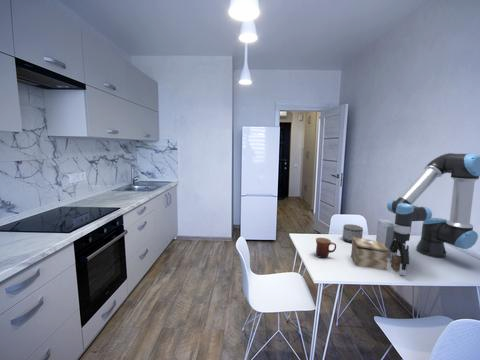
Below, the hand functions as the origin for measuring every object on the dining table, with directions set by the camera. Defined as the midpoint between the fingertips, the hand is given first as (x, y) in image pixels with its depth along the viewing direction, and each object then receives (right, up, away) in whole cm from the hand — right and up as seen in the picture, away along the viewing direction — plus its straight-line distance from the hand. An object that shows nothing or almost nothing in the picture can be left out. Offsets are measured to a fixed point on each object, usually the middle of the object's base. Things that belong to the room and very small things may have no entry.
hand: (397, 268), depth 132 cm
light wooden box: (-13, +1, +7) cm, 14 cm away
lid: (-13, +12, +6) cm, 18 cm away
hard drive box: (+6, +2, +21) cm, 22 cm away
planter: (-7, +5, +39) cm, 40 cm away
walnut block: (0, 0, 0) cm, 0 cm away
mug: (-36, +2, +14) cm, 38 cm away
